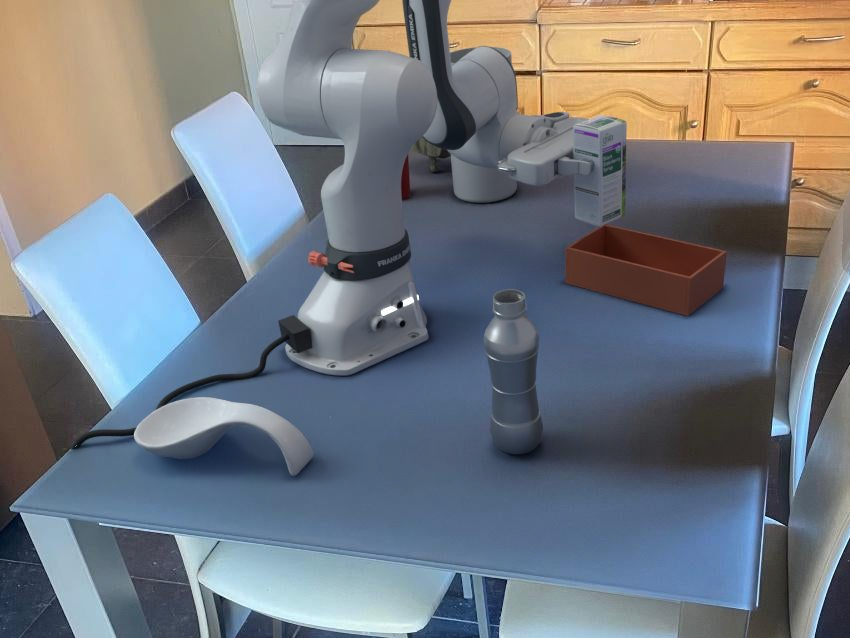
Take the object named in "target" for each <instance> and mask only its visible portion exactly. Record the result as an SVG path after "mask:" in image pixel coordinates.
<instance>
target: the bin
mask: <svg viewBox="0 0 850 638" xmlns="http://www.w3.org/2000/svg"><path fill="white" fill-rule="evenodd" d="M564 250H565V252H564V253H565V284H567V285H571V286H575V287H579V288H582V289H586V290H590V291H593V292H597V293H601V294H604V295H608V296H611V297H616V298H619V299H622V300H627V301H630V302H634V303H638V304H641V305H645V306H649V307H653V308H657V309H660V310H663V311H667V312H671V313H675V314H679V315H682V316H686V317H689V316H690V315H691V314H693V313H694V312H695V311H696V310H698V309H699V308H700V307H701V306H703V305H704V304H705V303H706V302H708V301H709V300H710V299H712V297H714V296H715V295H716V294H717V293H719V292H720V291H721V290H723V289H724V286H725V285H724V284H725V275H726V264H727V254H728V251H727V250H724V249H719V248H715V247H710V246H705V245H701V244H697V243H692V242H688V241H683V240H679V239H674V238H670V237H665V236H661V235H656V234H652V233H647V232H642V231H638V230H633V229H630V228H625V227H621V226H615V225H612V224H608V223H607V224H605V225H604V226H602V227H599V226H597V227H596V228H595V229H593V230H592V231H590V232H589V233H587V234H586V235H584V236H582V237H581V238H578V239H577V240H576V241H574V242H572V243H570V244H569V245H567V246H566V247H565V249H564Z"/></svg>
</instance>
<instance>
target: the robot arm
mask: <svg viewBox="0 0 850 638" xmlns="http://www.w3.org/2000/svg"><path fill="white" fill-rule="evenodd" d="M380 1H381V0H292V4H291V8H290V9H291V10H290V13H289V17H288V21H287V24H286V27H285V29H284V31H283V35H282V36H281V39H280V41H279V42H278V44H277V45H276V47H275V48H274V49H273V50H272V52H271V53H270V54H268V56H267V57H266V58H265V59H264V60H263V62H262V63H261V65H260V68H259V71H258V75H257V81H256V92H257V99H258V103H259V106H260V108H261V110H262V112H263V114H264V116H265V118H266V119H267V120H268V121H269V123H271V124H272V125H274V126H275V127H278V128H280V129H284V130H286V131H288V132H291V133H295V134H297V135H301V136H304V137H315V138H325V139H334V140H335V139H336V140H341V141H342V143H343V147H344V161H343V164H341V165H339V166H338V167H337V168H334V170H332V171H331V172H330V173H329V174H328V175H327V176H326V178H325V180H324V182H323V184H322V186H321V189H320V199H321V204H322V210H323V215H324V221H325V227H326V232H327V237H328V238H327V241H326V244H325V252H324V253H322V252H319V251H316V250H312V251H310V252H309V254H308V255H309V256H308V257H307V259H308V260H307V261H308V264H310V265H311V266H313V267H314V266H316V267H318V268H323V273H322V274H321V276H320V277H319V279H318V280H317V282H316V284H315V285H314V286H313V288H312V290H311V291H310V293H309V294H308V296H307V297H306V299H305V300H304V302H303V303H302V305H301V306H300V308H299V310H298V313H297V317H296V315H294V314H293V315H290V316H287V317H285V318H284V317H283V318H281V319H279V320H277V322H278V326H279V332H280V336H279V338H277V339H275V340H273V341H272V342H271V343H269V345H267V346H266V347H265V348H264V350H263V351H262V353H261V355H260V358H259V359H260V360H259V364H258V366H257V367H256V368H255V369H253V370H251V371H249V372H243V373H220V374H215V375H210V376H207V377H204V378H201V379H197V380H194V381H192V382H189V383H186V384H184V385H183V386H180V387H178V388H176V389H174V390H172V391H171V392H169V393H168V394H166V395H165V396H164V397H163V398H162V399H161V400H159V403H158V404H157V406H156V407H155V410H157V409H159V408H161V407H163V406H165V405H167V404H169V403H171V401H173V400H174V399H175V398H177V397H179V396H181V395H182V394H185V393H186V392H188V391H191V390H194V389H197V388H199V387H203V386H206V385H209V384H212V383H216V382H223V381H239V380H247V379H251V378H255V377H257V376H259V375H260V374H262V373H263V372H264V370H265V369H266V365H267V359H268V356H269V355H270V354H271V353H272V352H273V351H274V350H275V349H276V348H277V347H279V346H281V345H282V344H284V343H285V344H286V345H285V346H284V350H285V354H286V356H287V357H288V358H289V359H290V360H291V361H292V362H294V363H295V364H297V365H298V366H301V367H303V368H305V369H308V370H311V371H313V372H316V373H320V374H325V375H329V376H350V375H354V374H356V373H358V372H361V371H363V370H365V369H368V368H369V367H371V366H373V365H375V364H378V363H380V362H382V361H385V360H387V359H389V358H391V357H393V356H395V355H398V354H400V353H402V352H405V351H407V350H408V349H409V350H410V348H413V347H415V346H418V345H420V344H422V343H424V342H426V341H428V340H429V337H430V336H429V332H428V329H427V327H426V326H427V324H428V323H427V322H428V318H427V315H426V313H425V311H424V308H423V306H422V304H421V300H420V298H419V295H418V291H417V287H416V283H415V278H414V275H413V271H412V267H411V261H410V260H411V258H412V251H411V247H412V245H411V243H410V235H409V232H408V231H407V229H406V227H405V221H404V220H405V219H404V209H403V200H402V196H401V176H402V170H403V165H404V162H405V159H406V157H407V154H408V155H409V152H410V151H411V150H410V149H411V147H412V146H413V145H414V144H415V143H416V141H417V140H419V139H420V138H421V137H423V138H424V139H425V140H426V141H427V142H428V143H430V144H431V145H433V146H435V147H438V148H441V149H445V150H447V151H448V152H449V153H450V154H452V155H453V156H454V157H456V158H458V159H459V160H461V161H464V162H466V163H469V164H472V165H476V166H480V167H485V168H491V169H492V168H497V169H498V170H499V171H501V172H506V173H508V175H509V177H510V178H511V179H513V180H516V181H517V182H518V183H522V184H525V185H529V186H532V187H541V186H542V187H543V186H545V185H547V184H549V183H551V182H553V181H554V180H556V179H558V178H560V177H562V176H568V175H569V176H570V175H574V174H584V175H588V174H590V173H591V172H593V171H594V162H593V160H588V159H582V160H573V125H575V124H579V123H581V122H584V121H587V120H589V119H590V118H587V117H586V118H585V117H579V116H572V117H570V112H566V111H555V112H551V113H545V114H530V115H528V114H521V113H518V106H519V97H518V84H517V75H516V72H515V69H514V67H513V63H512V64H511V63H510V61H509V60H508V59H507V57H506V56H505V55H503V54H502V53H501V52H500V51H498V50H496V49H494V48H492V47H493V46H489V45H479V46H475V47H476V48H475V49H474V50H472V51H471V52H469V53H468V54H467V55H465V56H464V57H463V58H461V59H460V60H459V61H457V62H456V63H455V64H454V65H453V66H451V57H450V52H451V49H450V39H449V32H448V31H449V30H448V15H449V10H450V5H451V3H452V0H401V1H402V11H403V19H404V25H405V34H406V43H407V48H408V55H409V56H408V55H405V54H402V53H399V52H395V51H391V50H386V49H385V50H383V49H365V48H363V49H361V48H353V40H354V39H353V37H354V33H355V31H356V27H357V24H358V22H359V21H360V20H361V17H362V16H364V15H365V14H367V13H368V12H370V11H372V10H373V8H375V7H376V6H377V5H378V4H379V2H380ZM136 428H137V426H136V427H132V428H126V429H103V428H102V429H95V430H90V431H87V432H85V433H82V434H81V435H79V436H78V437H77V438H76V439H75V440H74V441H73V443H72V445H71V447H70V449H71V450H72V451H73V450H78V449H79V448H80V447H81V446H82V445H83V444H84V443H85V442H86V441H88V440H90V439H93V438H97V437H98V438H99V437H131V436H134V432H135V430H136ZM76 445H77V446H76ZM75 446H76V447H75Z"/></svg>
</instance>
